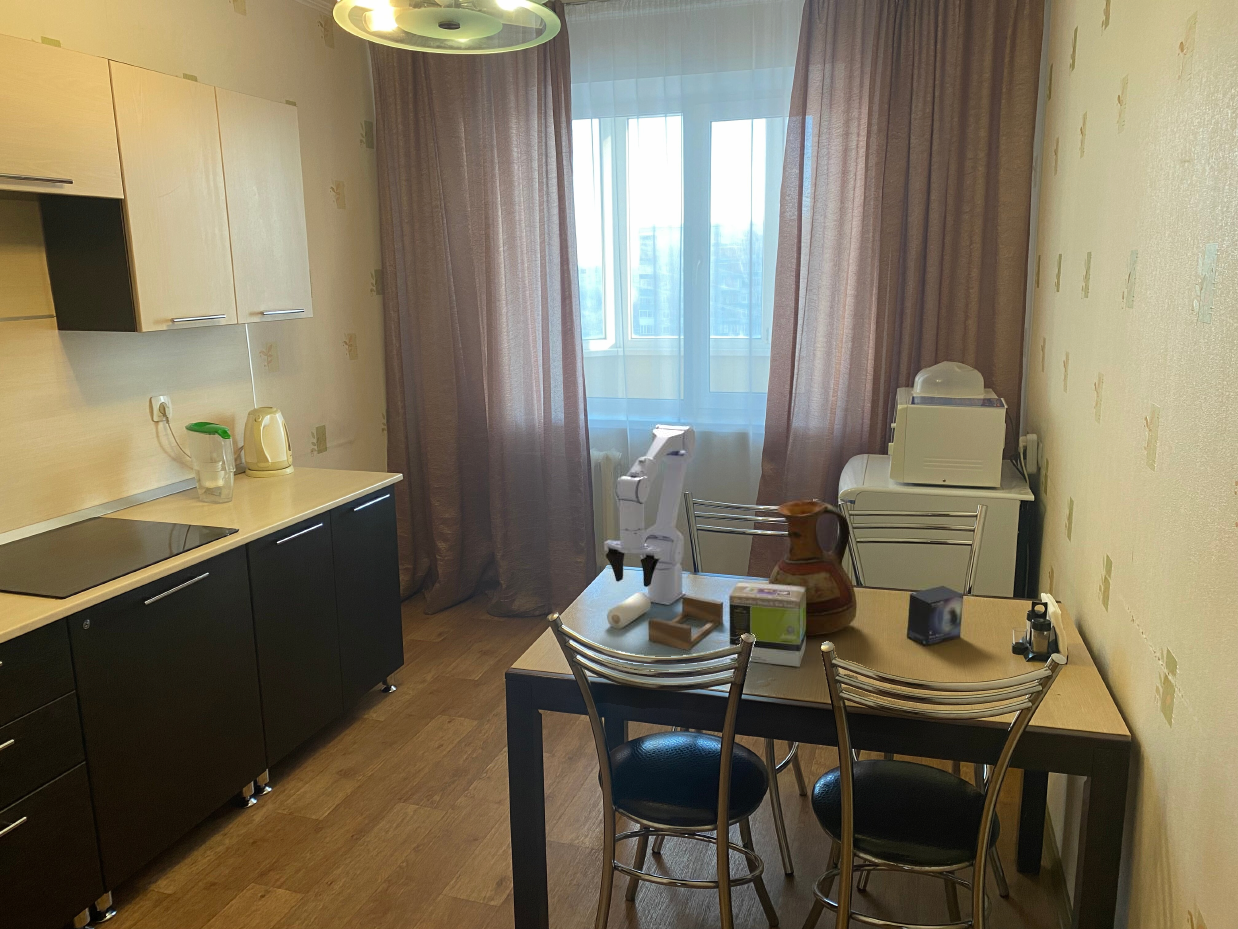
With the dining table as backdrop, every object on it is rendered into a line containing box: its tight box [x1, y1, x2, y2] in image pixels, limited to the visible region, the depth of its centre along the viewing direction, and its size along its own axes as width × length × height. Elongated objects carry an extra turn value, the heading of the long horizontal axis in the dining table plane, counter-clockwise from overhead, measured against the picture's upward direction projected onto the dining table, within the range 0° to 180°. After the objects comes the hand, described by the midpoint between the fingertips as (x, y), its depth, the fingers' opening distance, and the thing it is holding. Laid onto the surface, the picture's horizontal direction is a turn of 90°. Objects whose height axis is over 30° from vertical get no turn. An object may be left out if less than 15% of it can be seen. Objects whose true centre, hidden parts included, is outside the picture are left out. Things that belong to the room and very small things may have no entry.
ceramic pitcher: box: [768, 499, 858, 636], centre depth 205 cm, size 20×20×30 cm
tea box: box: [728, 580, 807, 668], centre depth 192 cm, size 15×10×15 cm
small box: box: [906, 585, 965, 647], centre depth 200 cm, size 11×6×10 cm, turn 118°
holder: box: [647, 594, 724, 651], centre depth 207 cm, size 18×10×5 cm, turn 149°
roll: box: [606, 591, 652, 630], centre depth 214 cm, size 12×5×5 cm, turn 149°
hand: (633, 582), depth 212 cm, fingers open, 7 cm apart
